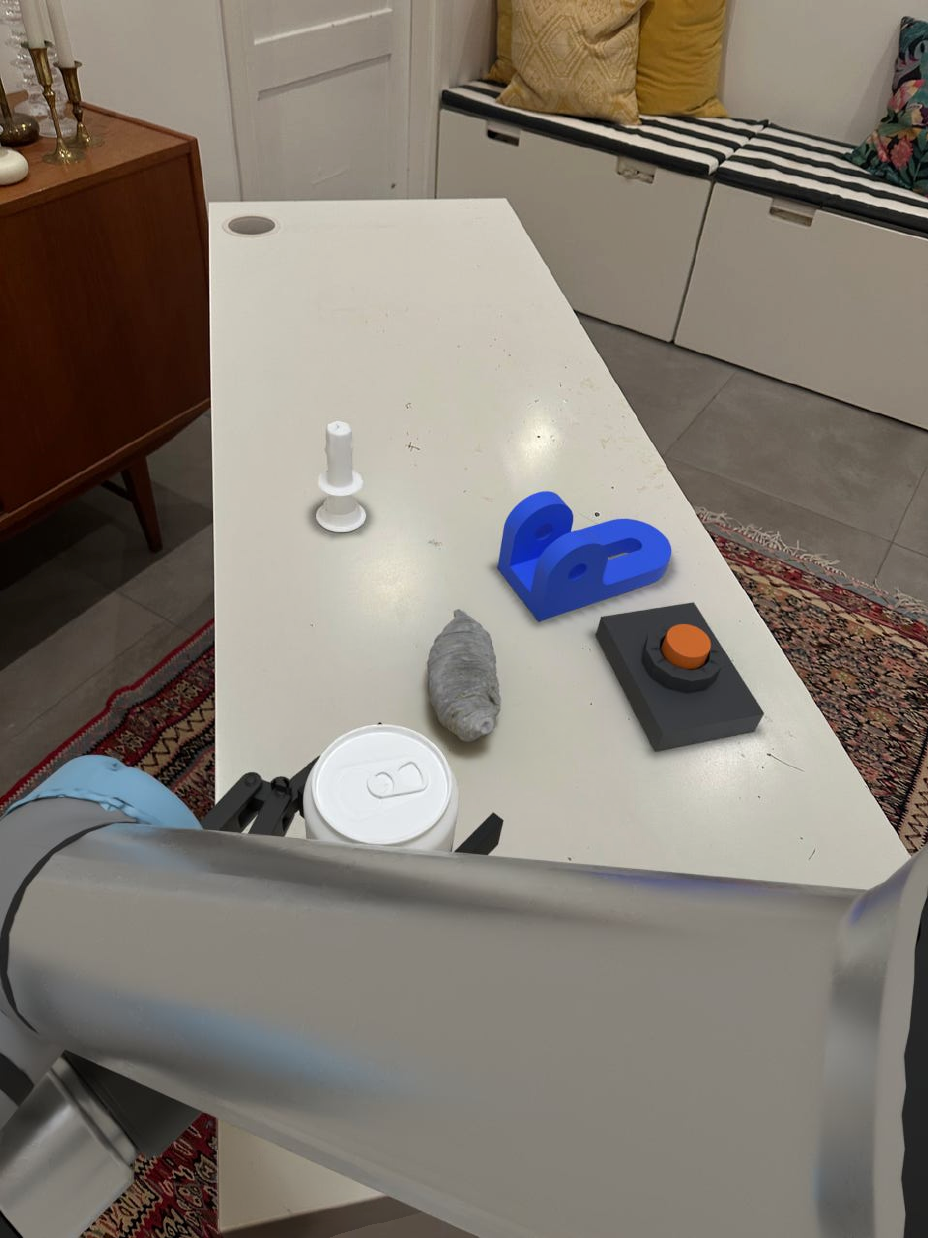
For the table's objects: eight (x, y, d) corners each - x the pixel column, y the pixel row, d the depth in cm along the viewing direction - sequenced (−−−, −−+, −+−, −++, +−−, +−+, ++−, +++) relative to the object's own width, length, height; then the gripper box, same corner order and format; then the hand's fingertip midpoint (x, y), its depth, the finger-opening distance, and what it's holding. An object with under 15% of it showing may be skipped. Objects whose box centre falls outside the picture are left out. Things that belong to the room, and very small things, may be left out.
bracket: (538, 621, 86) (552, 554, 79) (497, 568, 90) (507, 500, 84) (681, 573, 92) (706, 507, 86) (636, 525, 97) (656, 460, 91)
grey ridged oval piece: (497, 611, 82) (491, 578, 75) (506, 753, 77) (500, 733, 70) (431, 616, 83) (418, 584, 75) (435, 757, 78) (421, 738, 70)
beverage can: (297, 850, 54) (285, 738, 45) (420, 814, 57) (430, 701, 48) (331, 974, 49) (325, 874, 40) (464, 928, 52) (485, 825, 43)
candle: (348, 539, 91) (347, 445, 83) (306, 521, 93) (300, 426, 84) (375, 512, 95) (376, 418, 86) (333, 495, 96) (331, 401, 88)
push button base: (754, 731, 78) (771, 700, 75) (654, 751, 76) (668, 721, 73) (686, 620, 87) (699, 589, 84) (595, 635, 85) (604, 603, 82)
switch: (713, 666, 78) (718, 653, 77) (673, 673, 77) (678, 660, 76) (693, 633, 81) (698, 620, 79) (654, 640, 80) (659, 627, 78)
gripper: (-10, 972, 45) (317, 719, 58) (256, 1311, 37) (570, 928, 49) (-61, 908, 40) (313, 644, 52) (237, 1289, 31) (596, 864, 44)
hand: (437, 782), depth 51 cm, fingers closed on beverage can, 8 cm apart
